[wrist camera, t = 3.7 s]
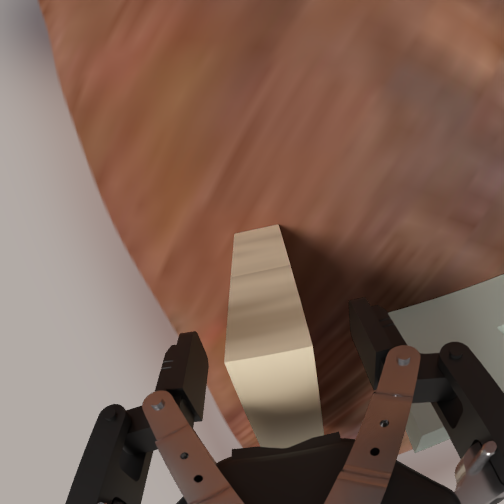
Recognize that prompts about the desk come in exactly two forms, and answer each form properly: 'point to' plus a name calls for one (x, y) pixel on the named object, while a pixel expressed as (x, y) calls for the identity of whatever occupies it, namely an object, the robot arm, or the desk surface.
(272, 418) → the pale wooden plank
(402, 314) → the slotted plate
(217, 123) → the desk surface
